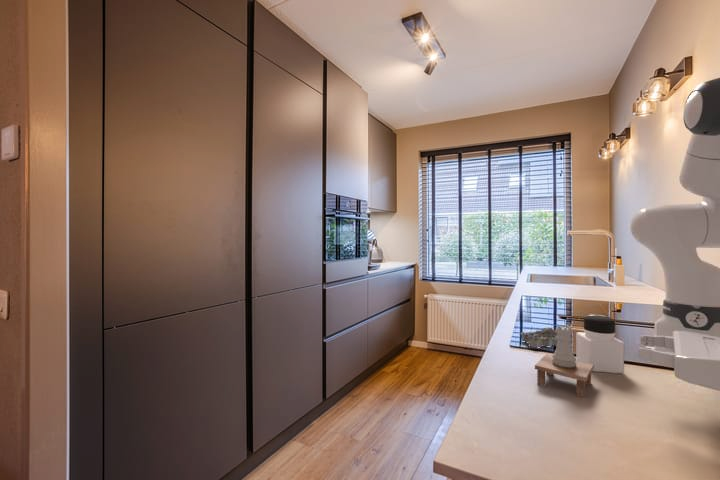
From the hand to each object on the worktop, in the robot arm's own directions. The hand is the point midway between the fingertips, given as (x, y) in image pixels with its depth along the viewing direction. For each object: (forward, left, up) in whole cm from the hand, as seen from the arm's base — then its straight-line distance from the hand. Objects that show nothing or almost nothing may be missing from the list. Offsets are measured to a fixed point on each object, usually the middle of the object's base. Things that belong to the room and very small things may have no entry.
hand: (639, 345), depth 62 cm
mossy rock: (-26, -22, -11) cm, 36 cm away
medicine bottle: (-16, -8, -11) cm, 21 cm away
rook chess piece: (0, -12, -7) cm, 14 cm away
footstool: (0, -12, -11) cm, 16 cm away
